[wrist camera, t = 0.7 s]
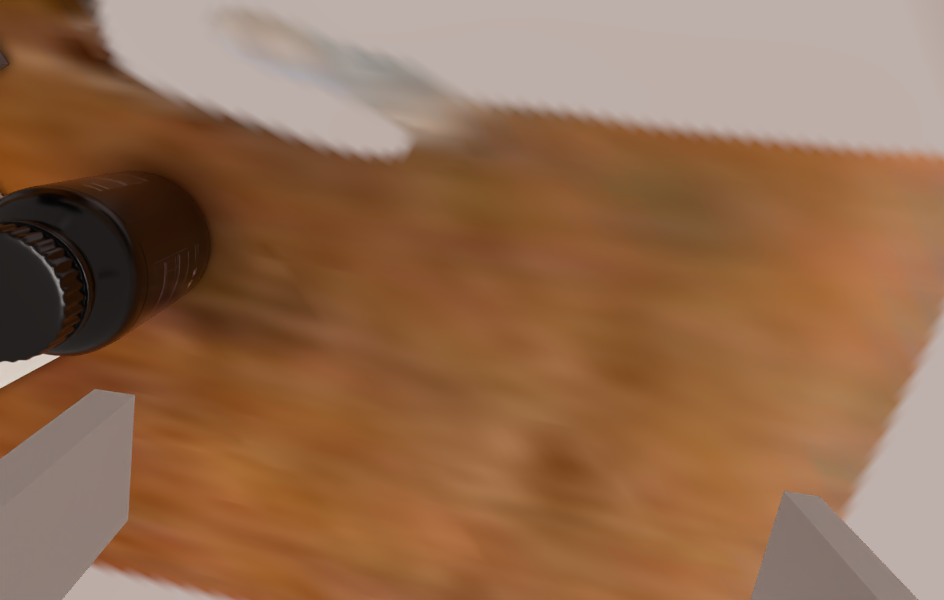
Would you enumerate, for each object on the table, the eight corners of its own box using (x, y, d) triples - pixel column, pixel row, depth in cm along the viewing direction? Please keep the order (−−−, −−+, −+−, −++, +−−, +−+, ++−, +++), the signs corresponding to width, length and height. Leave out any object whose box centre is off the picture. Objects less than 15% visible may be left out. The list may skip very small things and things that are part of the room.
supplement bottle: (54, 260, 36) (-143, 324, 24) (113, 143, 34) (-65, 152, 23) (176, 329, 37) (44, 424, 25) (238, 218, 35) (129, 264, 24)
